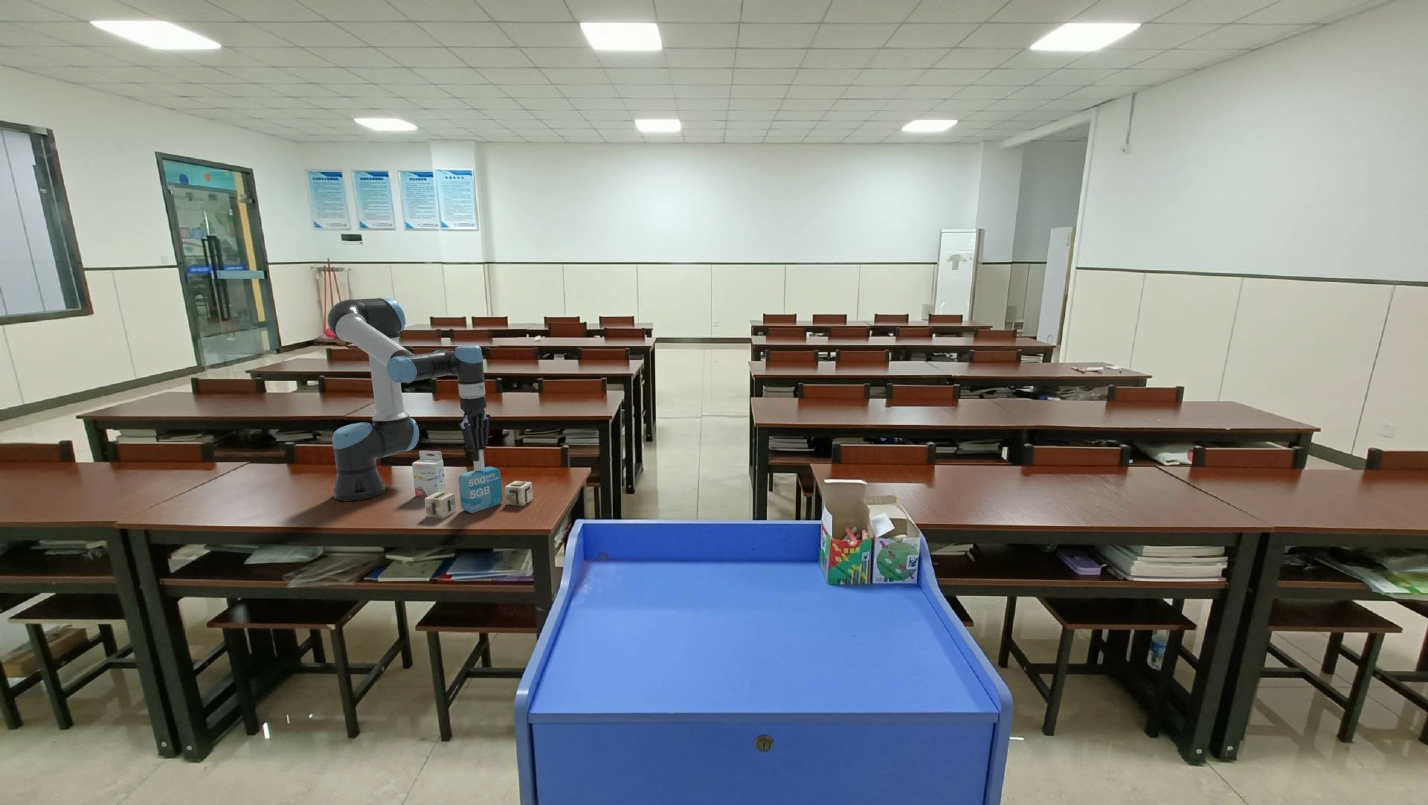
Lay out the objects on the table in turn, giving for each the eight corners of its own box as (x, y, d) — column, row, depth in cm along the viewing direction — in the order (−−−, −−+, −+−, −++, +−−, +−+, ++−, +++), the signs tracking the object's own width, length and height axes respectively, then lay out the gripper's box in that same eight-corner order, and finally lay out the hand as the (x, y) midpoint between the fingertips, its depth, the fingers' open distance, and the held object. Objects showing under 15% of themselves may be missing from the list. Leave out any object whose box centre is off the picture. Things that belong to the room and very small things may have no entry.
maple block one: (426, 517, 189) (424, 498, 188) (439, 509, 195) (437, 491, 194) (443, 519, 188) (441, 499, 187) (456, 511, 194) (454, 492, 192)
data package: (468, 514, 191) (465, 477, 189) (461, 511, 194) (457, 474, 191) (503, 503, 200) (500, 467, 198) (495, 500, 203) (492, 465, 200)
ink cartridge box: (414, 496, 207) (409, 454, 204) (422, 491, 211) (418, 450, 208) (439, 497, 206) (434, 455, 203) (446, 492, 211) (442, 450, 208)
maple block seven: (506, 504, 199) (504, 486, 198) (516, 498, 205) (515, 480, 204) (523, 506, 198) (521, 487, 196) (533, 499, 204) (532, 481, 202)
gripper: (470, 400, 182) (477, 477, 187) (495, 392, 195) (501, 464, 200) (448, 399, 184) (455, 475, 189) (475, 391, 197) (481, 463, 201)
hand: (479, 469), depth 194 cm, fingers closed
